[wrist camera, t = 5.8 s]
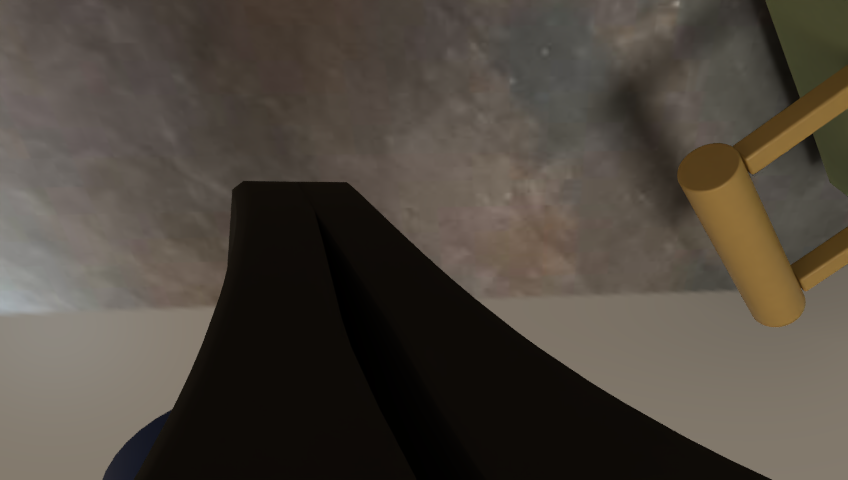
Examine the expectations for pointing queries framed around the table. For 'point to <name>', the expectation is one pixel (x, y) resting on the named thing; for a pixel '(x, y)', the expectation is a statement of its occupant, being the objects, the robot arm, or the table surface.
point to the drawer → (728, 166)
